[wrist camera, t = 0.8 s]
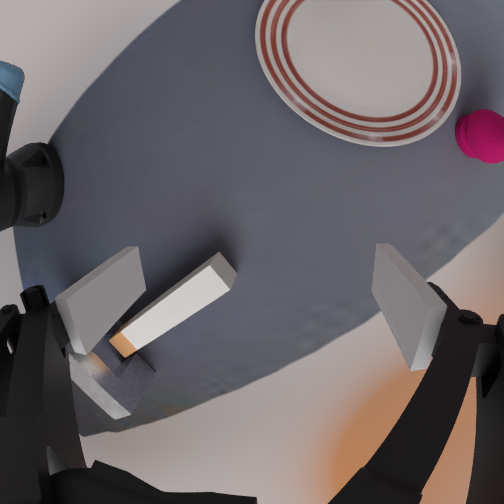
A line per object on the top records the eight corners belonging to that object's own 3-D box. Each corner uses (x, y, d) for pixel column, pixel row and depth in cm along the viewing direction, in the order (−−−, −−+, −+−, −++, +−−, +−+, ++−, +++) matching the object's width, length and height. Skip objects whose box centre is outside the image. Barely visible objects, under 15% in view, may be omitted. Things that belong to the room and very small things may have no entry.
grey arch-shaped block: (139, 380, 51) (114, 419, 41) (78, 315, 48) (43, 347, 37) (155, 372, 49) (131, 414, 39) (90, 302, 46) (53, 335, 35)
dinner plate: (428, 178, 32) (439, 181, 29) (232, 109, 33) (227, 105, 30) (458, 23, 23) (467, 16, 20) (285, -43, 24) (284, -55, 20)
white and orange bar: (137, 341, 47) (124, 357, 43) (122, 325, 47) (108, 340, 42) (237, 273, 40) (230, 289, 36) (219, 251, 40) (209, 264, 35)
